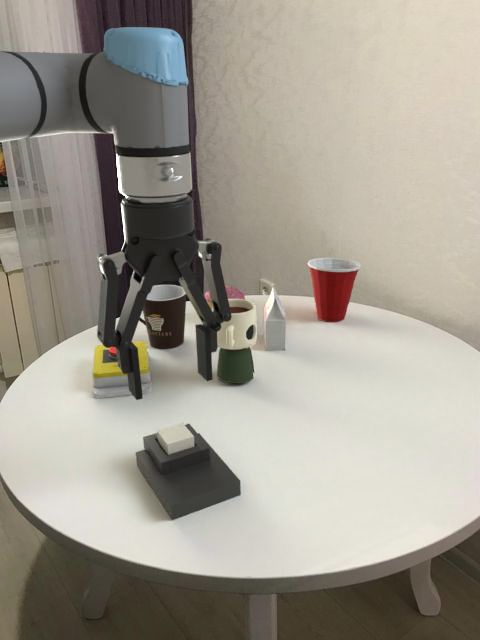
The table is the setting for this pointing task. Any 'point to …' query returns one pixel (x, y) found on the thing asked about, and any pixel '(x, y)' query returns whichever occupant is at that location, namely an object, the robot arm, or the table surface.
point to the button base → (186, 476)
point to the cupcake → (231, 294)
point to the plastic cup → (332, 286)
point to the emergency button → (117, 372)
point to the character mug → (237, 342)
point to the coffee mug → (165, 316)
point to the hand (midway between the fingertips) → (171, 384)
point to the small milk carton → (274, 323)
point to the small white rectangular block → (175, 438)
